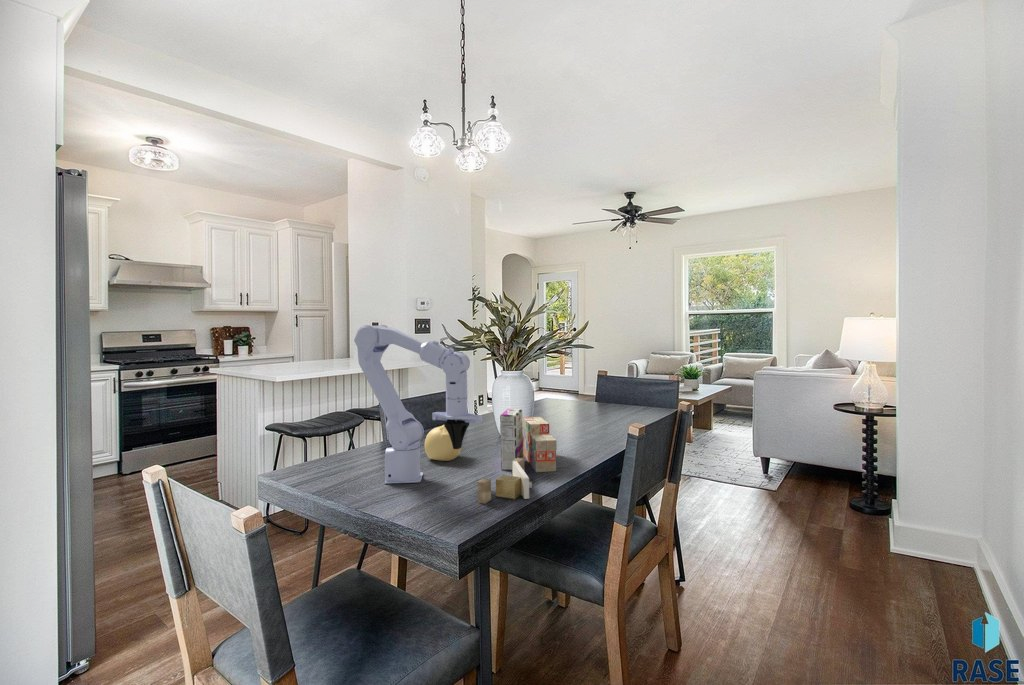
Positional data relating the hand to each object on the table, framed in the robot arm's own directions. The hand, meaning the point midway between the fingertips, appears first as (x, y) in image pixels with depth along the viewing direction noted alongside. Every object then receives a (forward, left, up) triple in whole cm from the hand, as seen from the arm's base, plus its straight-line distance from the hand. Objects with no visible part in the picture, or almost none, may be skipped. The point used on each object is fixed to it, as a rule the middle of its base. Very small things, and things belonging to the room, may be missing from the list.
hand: (457, 448), depth 130 cm
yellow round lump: (-5, +25, -10) cm, 27 cm away
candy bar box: (+16, +15, -10) cm, 24 cm away
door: (+17, -7, -9) cm, 20 cm away
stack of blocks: (+25, +18, -10) cm, 32 cm away
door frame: (+12, -6, -9) cm, 16 cm away
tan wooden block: (+13, -12, -10) cm, 20 cm away
